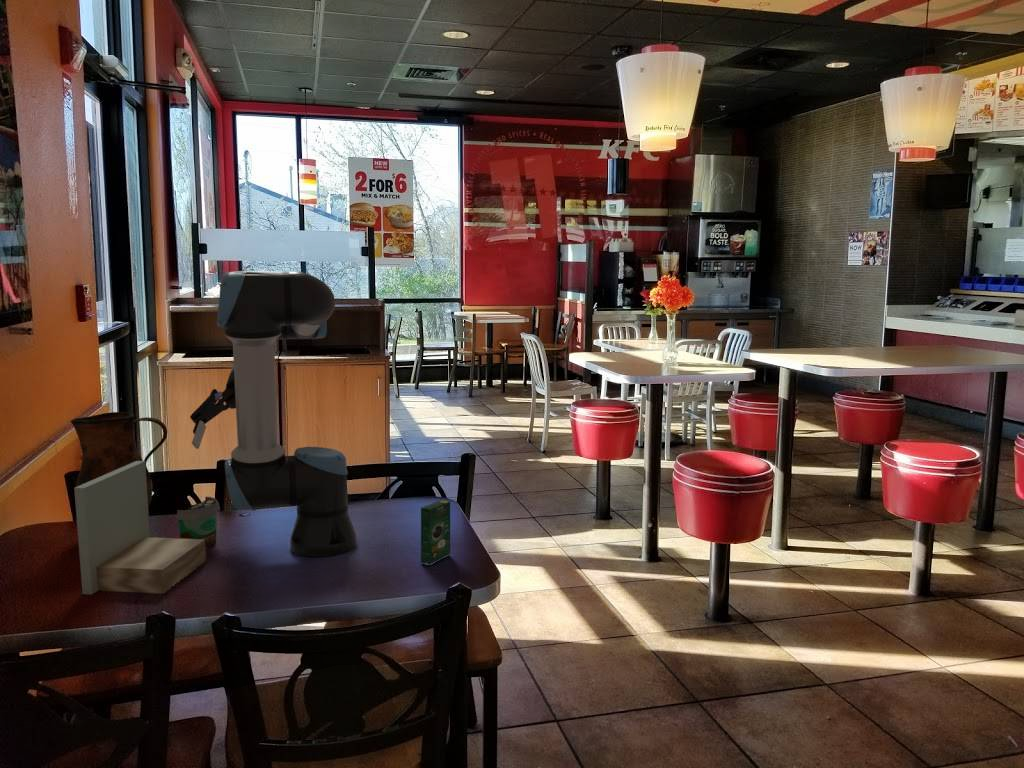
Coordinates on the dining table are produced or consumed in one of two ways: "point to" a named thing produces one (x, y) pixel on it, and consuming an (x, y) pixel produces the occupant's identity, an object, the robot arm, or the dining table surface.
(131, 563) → the block
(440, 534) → the coffee box
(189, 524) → the food container
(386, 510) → the dining table surface
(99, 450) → the pitcher
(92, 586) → the wall board
